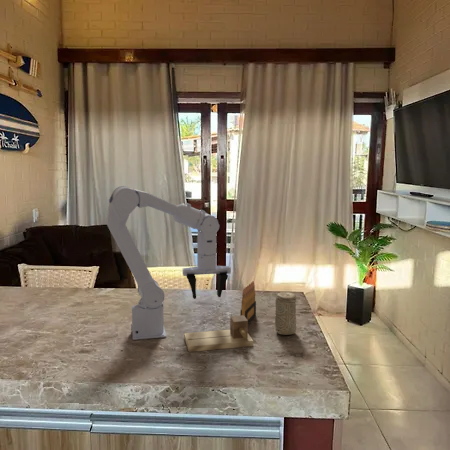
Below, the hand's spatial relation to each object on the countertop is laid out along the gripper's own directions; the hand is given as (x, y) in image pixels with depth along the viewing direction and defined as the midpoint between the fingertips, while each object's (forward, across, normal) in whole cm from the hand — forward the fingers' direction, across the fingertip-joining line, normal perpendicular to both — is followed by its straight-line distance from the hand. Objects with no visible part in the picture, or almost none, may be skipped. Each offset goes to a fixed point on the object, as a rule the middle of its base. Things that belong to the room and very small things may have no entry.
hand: (206, 297), depth 130 cm
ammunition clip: (+10, +14, +2) cm, 17 cm away
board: (+9, +1, -12) cm, 15 cm away
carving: (+10, +22, -10) cm, 26 cm away
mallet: (+8, +7, -14) cm, 18 cm away
